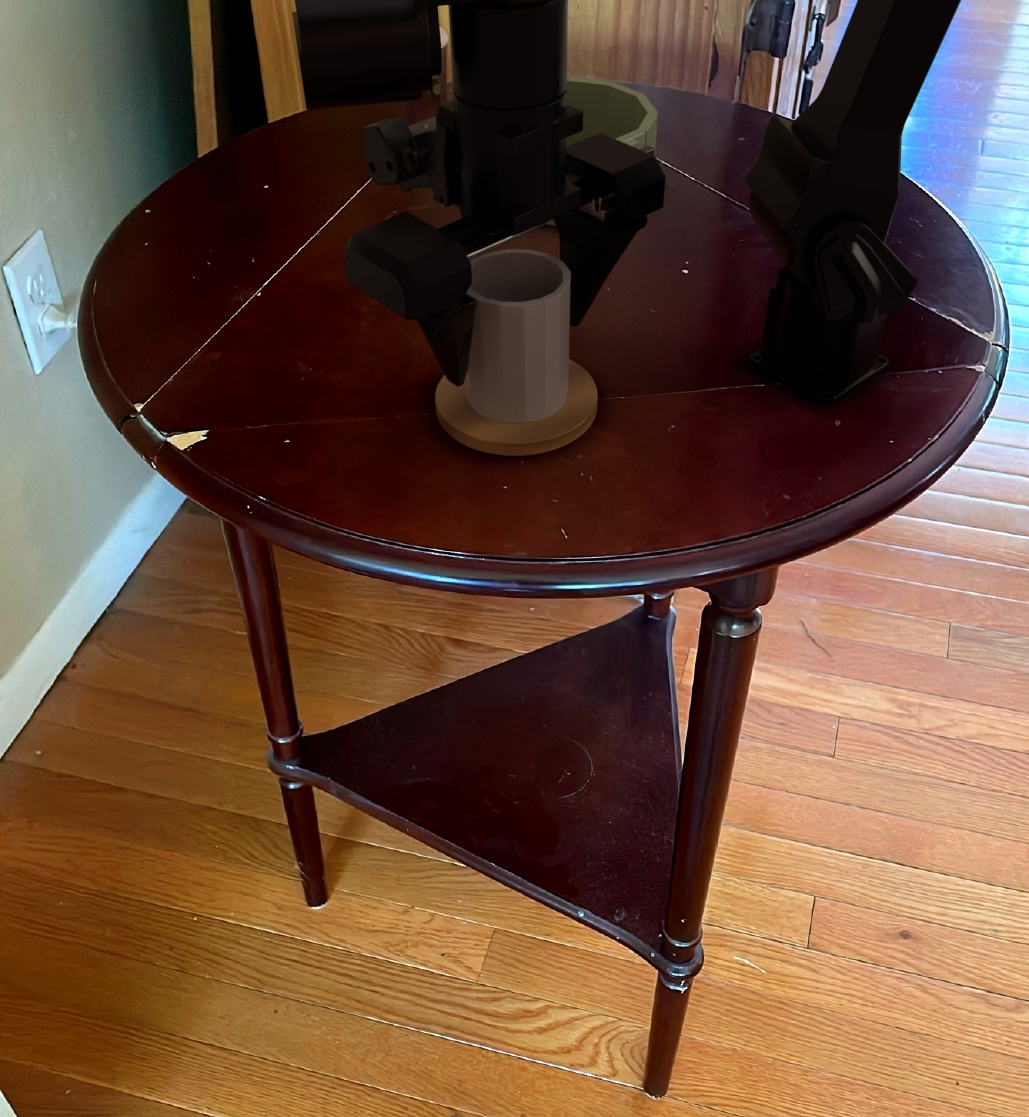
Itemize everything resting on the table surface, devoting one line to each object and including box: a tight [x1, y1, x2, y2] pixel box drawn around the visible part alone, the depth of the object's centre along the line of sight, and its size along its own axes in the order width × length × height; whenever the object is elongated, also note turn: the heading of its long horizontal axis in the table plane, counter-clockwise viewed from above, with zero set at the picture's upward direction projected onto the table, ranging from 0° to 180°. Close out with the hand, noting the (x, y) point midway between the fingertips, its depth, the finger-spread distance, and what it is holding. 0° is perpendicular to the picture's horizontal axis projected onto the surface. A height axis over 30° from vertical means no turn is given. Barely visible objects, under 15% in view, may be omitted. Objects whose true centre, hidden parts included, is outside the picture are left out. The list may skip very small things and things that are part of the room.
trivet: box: [434, 358, 599, 457], centre depth 69 cm, size 10×10×1 cm
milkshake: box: [403, 26, 449, 126], centre depth 96 cm, size 4×5×10 cm
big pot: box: [546, 76, 659, 227], centre depth 89 cm, size 17×14×6 cm
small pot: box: [464, 248, 571, 423], centre depth 66 cm, size 6×6×8 cm
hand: (515, 352), depth 67 cm, fingers open, 9 cm apart
